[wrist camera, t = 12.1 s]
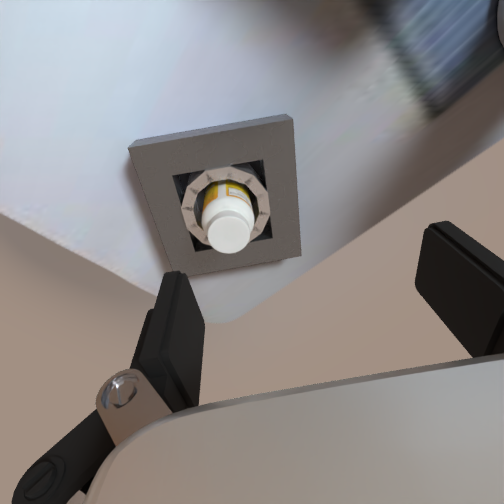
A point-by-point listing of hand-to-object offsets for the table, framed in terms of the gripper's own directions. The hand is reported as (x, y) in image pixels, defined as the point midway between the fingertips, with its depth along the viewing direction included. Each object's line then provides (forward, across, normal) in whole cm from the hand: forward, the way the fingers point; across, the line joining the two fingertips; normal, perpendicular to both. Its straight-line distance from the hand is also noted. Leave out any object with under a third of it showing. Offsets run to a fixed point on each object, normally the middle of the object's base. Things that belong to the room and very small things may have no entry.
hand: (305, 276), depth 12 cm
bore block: (+24, +5, +6) cm, 25 cm away
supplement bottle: (+24, +4, +6) cm, 25 cm away
